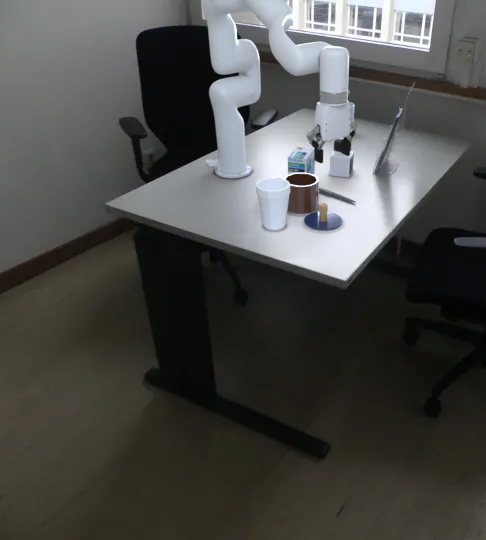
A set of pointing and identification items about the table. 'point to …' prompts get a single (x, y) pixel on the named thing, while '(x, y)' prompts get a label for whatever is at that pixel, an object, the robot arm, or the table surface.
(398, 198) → the table surface
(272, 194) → the foam cup
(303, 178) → the brown cup
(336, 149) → the medicine bottle
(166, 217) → the table surface
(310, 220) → the lid
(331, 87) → the robot arm
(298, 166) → the light bulb box
